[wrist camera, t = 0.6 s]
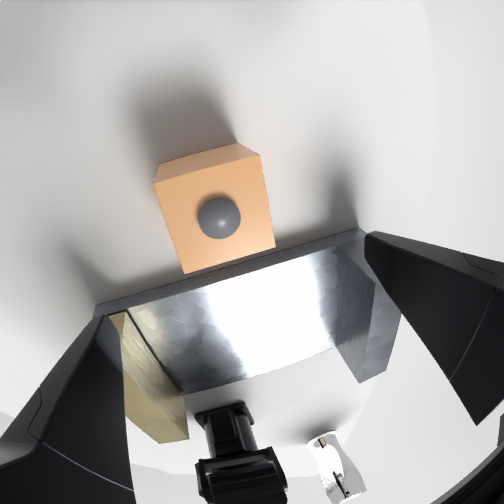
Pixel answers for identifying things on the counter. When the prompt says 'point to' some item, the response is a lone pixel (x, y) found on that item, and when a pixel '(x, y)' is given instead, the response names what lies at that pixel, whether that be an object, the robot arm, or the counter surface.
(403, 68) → the counter surface
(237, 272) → the vise bed
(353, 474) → the beer glass
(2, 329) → the counter surface
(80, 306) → the counter surface
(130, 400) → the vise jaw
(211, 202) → the block
